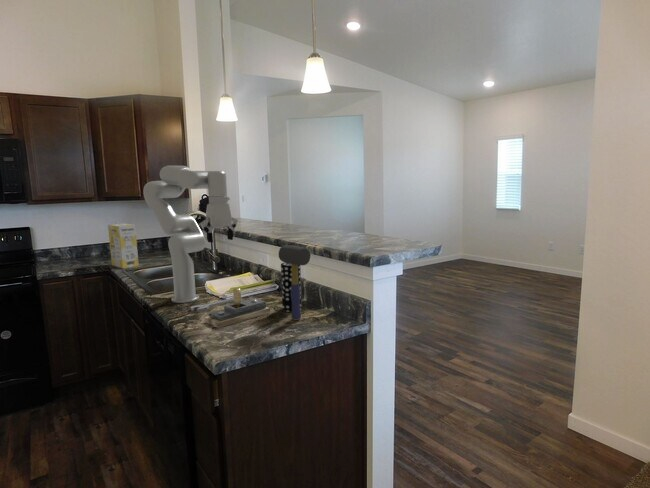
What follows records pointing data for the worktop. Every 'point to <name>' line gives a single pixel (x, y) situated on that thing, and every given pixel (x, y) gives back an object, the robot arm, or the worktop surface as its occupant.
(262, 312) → the oak jig
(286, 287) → the spotted tube
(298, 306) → the rubber mallet
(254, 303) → the pegged base plate
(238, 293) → the brass pin
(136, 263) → the pasta box
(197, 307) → the adjustable wrench
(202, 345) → the worktop surface
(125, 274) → the worktop surface
